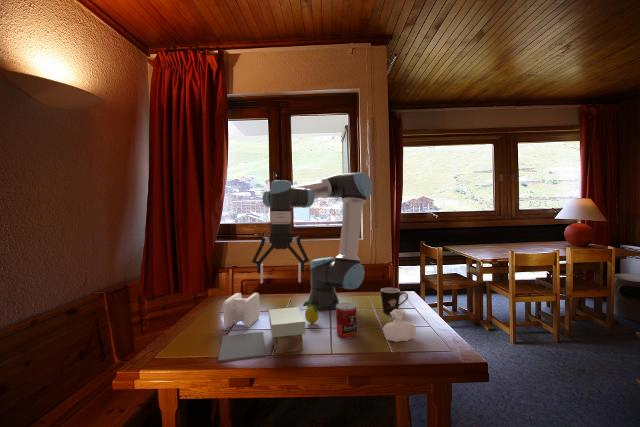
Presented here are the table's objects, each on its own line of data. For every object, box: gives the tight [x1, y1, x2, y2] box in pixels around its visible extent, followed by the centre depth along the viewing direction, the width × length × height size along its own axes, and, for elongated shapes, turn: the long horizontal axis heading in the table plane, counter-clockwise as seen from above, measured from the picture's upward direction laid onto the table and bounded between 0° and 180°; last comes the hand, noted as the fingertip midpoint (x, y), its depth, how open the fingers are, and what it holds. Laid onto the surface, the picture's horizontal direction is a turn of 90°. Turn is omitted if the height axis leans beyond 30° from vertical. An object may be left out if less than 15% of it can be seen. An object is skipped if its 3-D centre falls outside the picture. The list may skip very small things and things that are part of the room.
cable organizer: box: [222, 292, 261, 328], centre depth 140 cm, size 15×11×12 cm
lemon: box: [302, 300, 319, 325], centre depth 137 cm, size 7×6×10 cm
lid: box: [268, 306, 306, 338], centre depth 119 cm, size 11×16×4 cm
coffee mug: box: [380, 287, 409, 316], centre depth 148 cm, size 12×9×10 cm
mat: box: [217, 331, 266, 363], centre depth 118 cm, size 15×20×1 cm
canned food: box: [335, 302, 358, 339], centre depth 125 cm, size 8×8×11 cm
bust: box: [382, 308, 417, 343], centre depth 121 cm, size 12×8×11 cm
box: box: [272, 334, 304, 354], centre depth 119 cm, size 9×14×9 cm, turn 12°
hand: (280, 282), depth 120 cm, fingers open, 13 cm apart
